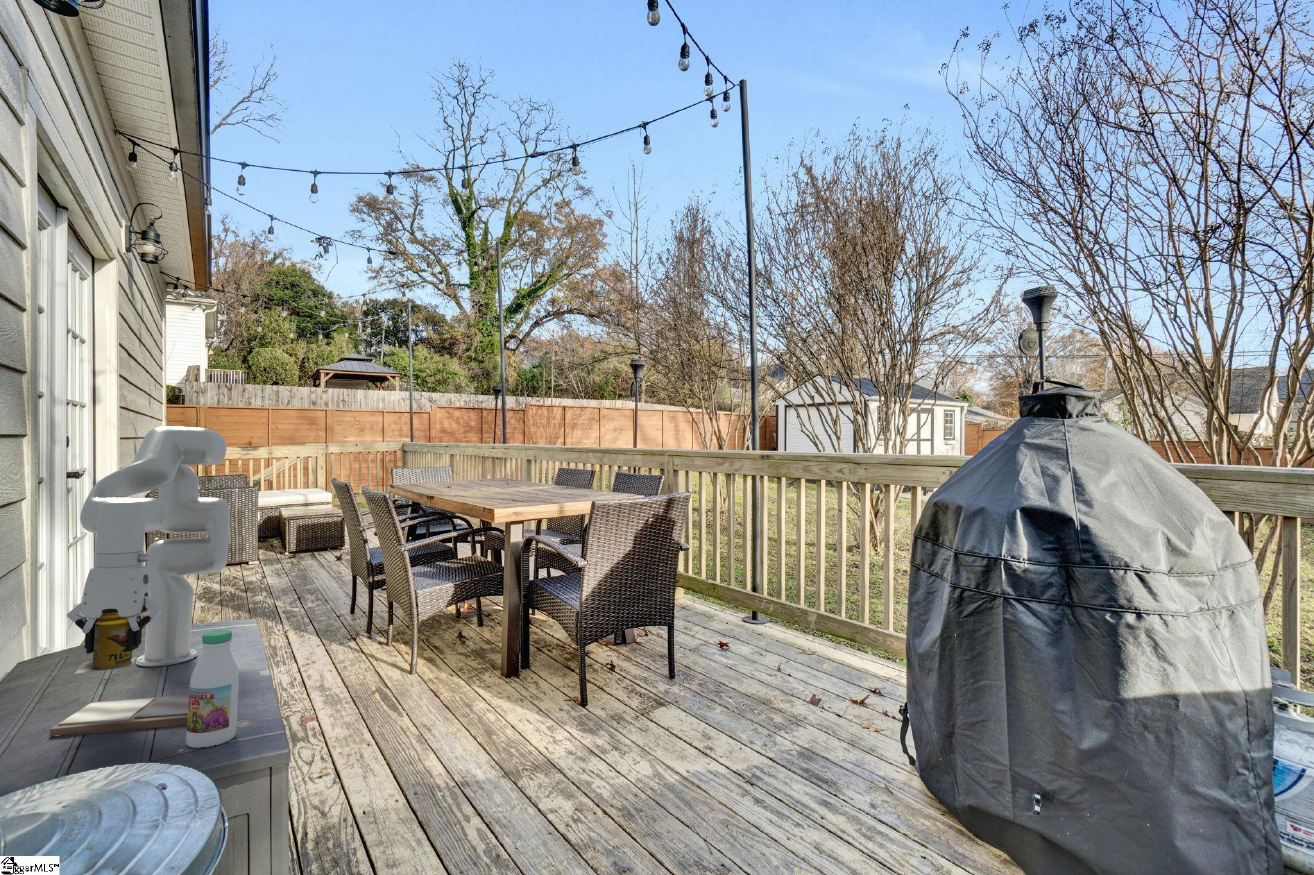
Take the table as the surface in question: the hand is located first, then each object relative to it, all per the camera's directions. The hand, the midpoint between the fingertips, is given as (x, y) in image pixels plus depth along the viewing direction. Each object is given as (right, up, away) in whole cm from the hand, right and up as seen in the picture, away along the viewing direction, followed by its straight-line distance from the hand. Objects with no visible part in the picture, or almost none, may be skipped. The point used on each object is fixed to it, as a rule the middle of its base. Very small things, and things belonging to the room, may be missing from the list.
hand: (112, 649), depth 125 cm
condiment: (-1, -3, 0) cm, 4 cm away
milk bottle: (+26, -14, -9) cm, 31 cm away
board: (+5, -14, +1) cm, 15 cm away
